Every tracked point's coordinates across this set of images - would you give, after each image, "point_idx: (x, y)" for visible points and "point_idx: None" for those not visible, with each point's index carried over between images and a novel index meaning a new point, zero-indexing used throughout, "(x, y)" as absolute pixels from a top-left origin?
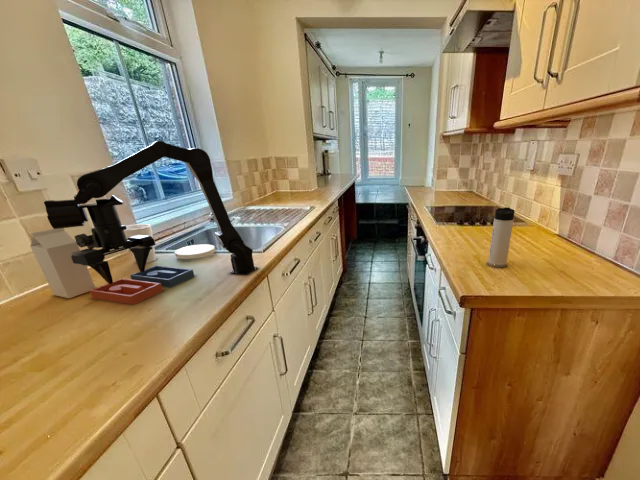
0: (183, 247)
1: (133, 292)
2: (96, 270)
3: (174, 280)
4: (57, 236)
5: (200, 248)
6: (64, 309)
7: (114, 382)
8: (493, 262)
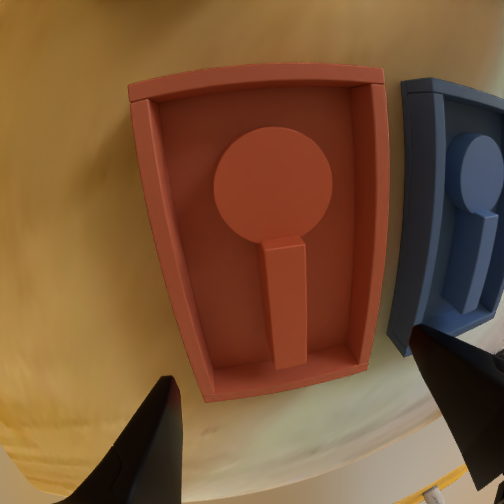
0: None
1: (267, 321)
2: (98, 479)
3: None
4: None
5: None
6: (18, 134)
7: None
8: (426, 494)
